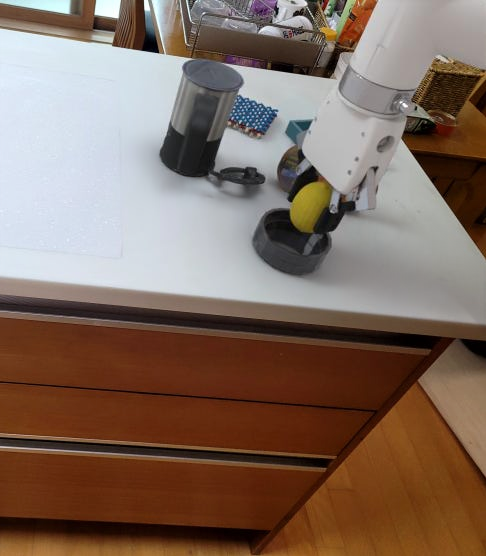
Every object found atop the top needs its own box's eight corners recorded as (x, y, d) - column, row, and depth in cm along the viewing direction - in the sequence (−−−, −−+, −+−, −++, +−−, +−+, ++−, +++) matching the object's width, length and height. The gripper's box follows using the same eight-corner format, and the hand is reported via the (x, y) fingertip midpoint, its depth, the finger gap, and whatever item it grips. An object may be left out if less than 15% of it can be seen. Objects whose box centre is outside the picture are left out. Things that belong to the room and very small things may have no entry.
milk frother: (155, 140, 91) (176, 54, 80) (243, 148, 94) (276, 66, 83) (169, 195, 82) (195, 105, 71) (267, 201, 84) (307, 116, 74)
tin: (268, 186, 87) (289, 141, 81) (271, 176, 90) (292, 131, 84) (361, 219, 85) (389, 176, 79) (362, 208, 87) (389, 165, 81)
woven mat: (224, 97, 106) (228, 88, 104) (276, 118, 103) (280, 108, 102) (206, 119, 99) (209, 109, 97) (261, 142, 96) (265, 132, 95)
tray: (341, 128, 105) (347, 117, 103) (381, 167, 97) (388, 155, 96) (284, 132, 100) (289, 120, 98) (321, 172, 93) (328, 160, 91)
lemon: (329, 237, 75) (356, 190, 69) (302, 249, 72) (328, 202, 66) (300, 213, 77) (323, 166, 72) (273, 224, 75) (295, 176, 69)
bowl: (296, 222, 82) (305, 204, 80) (334, 270, 76) (346, 252, 73) (239, 230, 79) (247, 211, 76) (274, 280, 73) (285, 262, 70)
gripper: (456, 130, 56) (371, 256, 69) (355, 51, 66) (297, 174, 79) (400, 135, 53) (323, 265, 66) (304, 52, 64) (253, 178, 77)
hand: (309, 214), depth 73 cm, fingers closed on lemon, 5 cm apart
